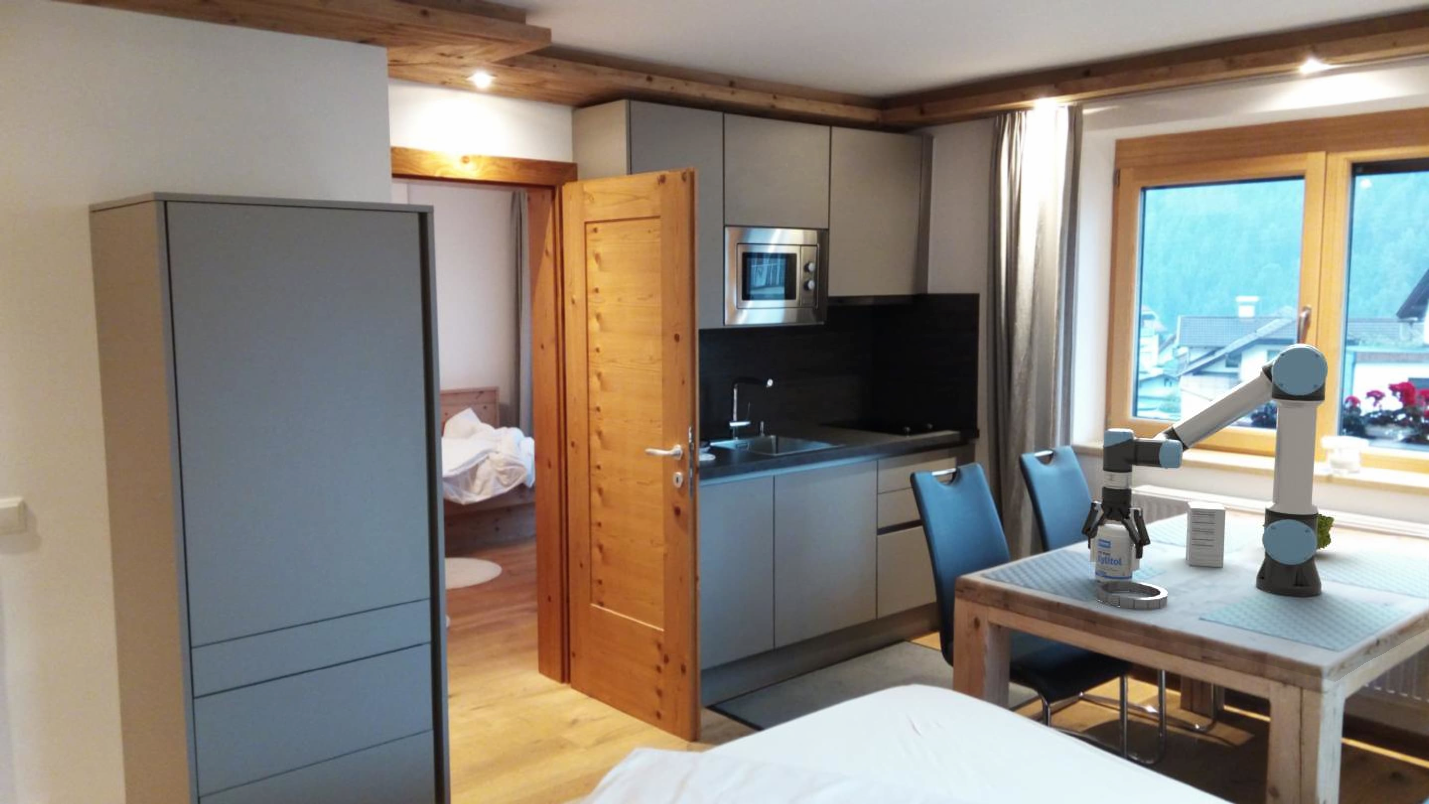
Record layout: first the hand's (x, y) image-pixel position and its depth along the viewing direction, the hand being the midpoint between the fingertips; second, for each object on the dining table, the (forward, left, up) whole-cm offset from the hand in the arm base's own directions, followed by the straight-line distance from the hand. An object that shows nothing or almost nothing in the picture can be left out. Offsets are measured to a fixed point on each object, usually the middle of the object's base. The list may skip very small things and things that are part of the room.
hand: (1114, 565), depth 285 cm
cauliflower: (-19, -69, -4) cm, 72 cm away
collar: (-12, +13, -4) cm, 18 cm away
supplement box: (-7, -37, -4) cm, 38 cm away
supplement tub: (0, 0, -4) cm, 4 cm away
